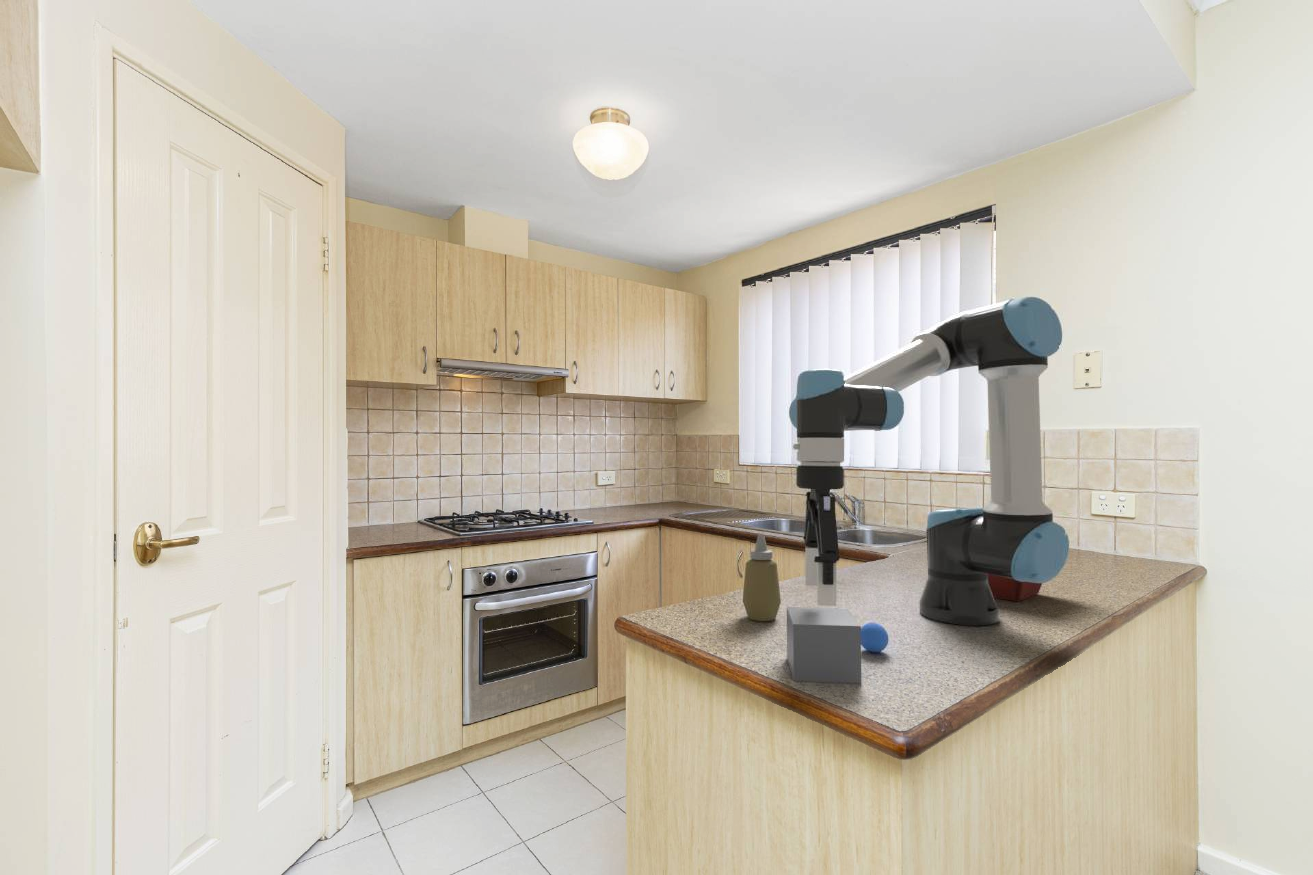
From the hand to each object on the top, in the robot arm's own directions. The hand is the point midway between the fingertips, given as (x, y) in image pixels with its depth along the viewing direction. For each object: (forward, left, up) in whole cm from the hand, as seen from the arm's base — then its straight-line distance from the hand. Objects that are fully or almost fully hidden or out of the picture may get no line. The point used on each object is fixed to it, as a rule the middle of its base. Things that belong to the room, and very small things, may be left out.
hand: (819, 594), depth 97 cm
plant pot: (-52, -57, -13) cm, 78 cm away
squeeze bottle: (+8, -29, -13) cm, 33 cm away
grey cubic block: (0, 0, -12) cm, 12 cm away
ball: (-11, -10, -10) cm, 18 cm away
